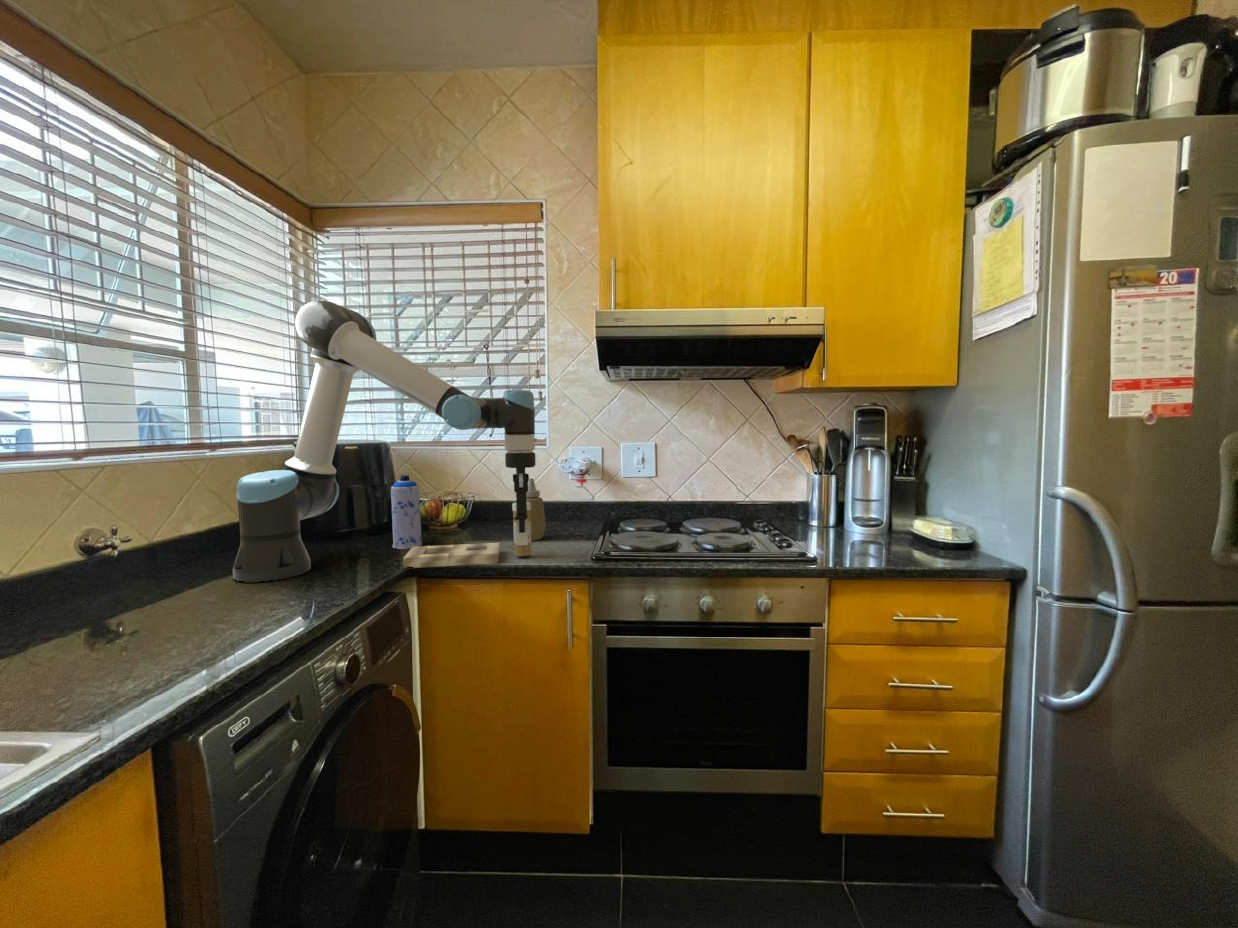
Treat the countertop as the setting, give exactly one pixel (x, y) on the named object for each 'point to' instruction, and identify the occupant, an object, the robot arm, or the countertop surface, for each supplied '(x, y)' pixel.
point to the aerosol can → (406, 513)
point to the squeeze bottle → (536, 512)
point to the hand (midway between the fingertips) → (522, 542)
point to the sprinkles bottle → (518, 549)
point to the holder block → (452, 555)
